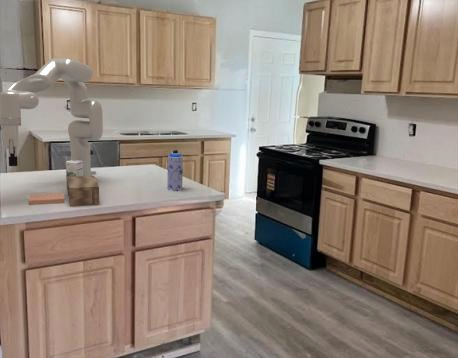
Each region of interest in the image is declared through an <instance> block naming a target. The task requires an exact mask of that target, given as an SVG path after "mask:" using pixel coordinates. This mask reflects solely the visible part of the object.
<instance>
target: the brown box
mask: <svg viewBox="0 0 458 358" xmlns="http://www.w3.org/2000/svg"><path fill="white" fill-rule="evenodd" d="M67 189H68V191H67V196H68V197H69V200H68V201H69V203H68V204H69V207H81V206H98V205H100V186H99V184H98V182H97V180H96V177H95V175H92V176H74V177H67V178H66V190H67Z"/></svg>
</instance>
